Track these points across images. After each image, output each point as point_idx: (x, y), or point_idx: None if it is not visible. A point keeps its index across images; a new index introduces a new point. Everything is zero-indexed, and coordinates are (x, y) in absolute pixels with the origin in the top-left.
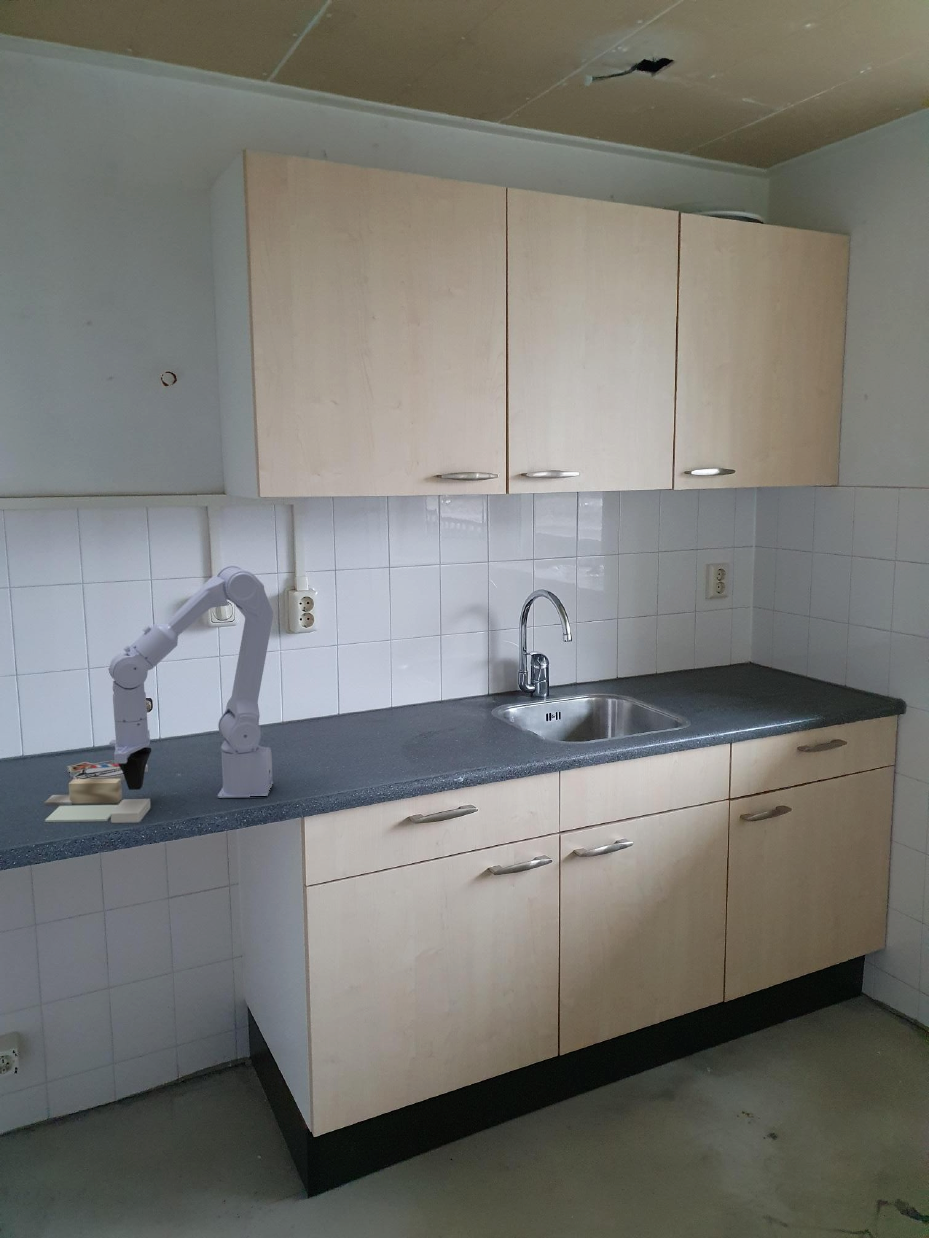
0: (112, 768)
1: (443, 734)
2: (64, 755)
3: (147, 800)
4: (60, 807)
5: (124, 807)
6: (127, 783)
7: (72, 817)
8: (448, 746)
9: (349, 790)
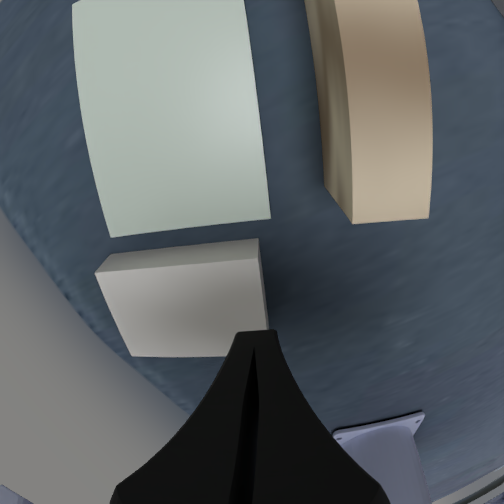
0: None
1: (482, 469)
2: None
3: None
4: None
5: (163, 300)
6: (227, 356)
7: (100, 86)
8: (448, 485)
9: None
